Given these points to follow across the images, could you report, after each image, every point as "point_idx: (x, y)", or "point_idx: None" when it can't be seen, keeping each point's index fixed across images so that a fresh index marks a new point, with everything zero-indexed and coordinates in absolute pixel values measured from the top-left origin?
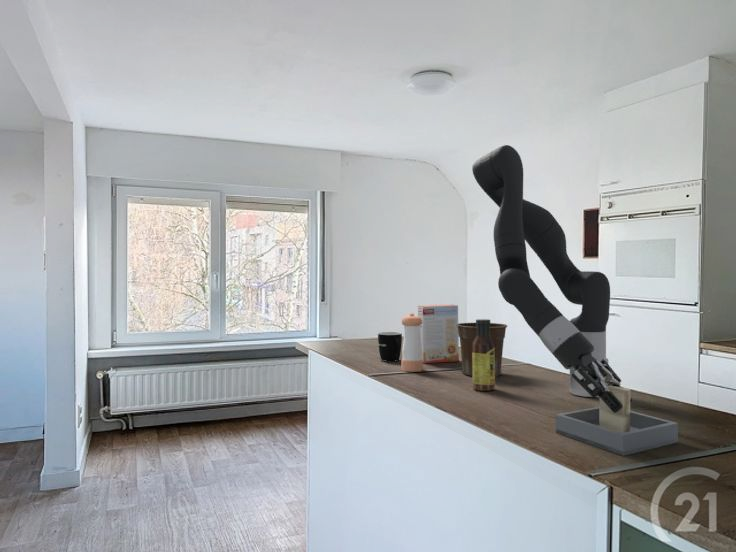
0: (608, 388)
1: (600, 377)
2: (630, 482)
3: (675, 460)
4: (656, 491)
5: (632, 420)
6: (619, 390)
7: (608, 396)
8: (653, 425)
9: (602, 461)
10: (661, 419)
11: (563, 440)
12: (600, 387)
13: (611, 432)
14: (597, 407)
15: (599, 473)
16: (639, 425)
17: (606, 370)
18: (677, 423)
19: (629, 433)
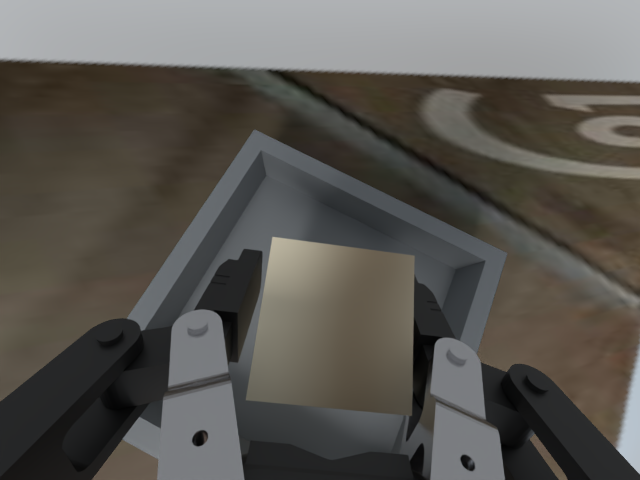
0: (348, 364)
1: (499, 439)
2: (616, 222)
3: (414, 159)
4: (619, 175)
5: (189, 282)
6: (360, 287)
7: (451, 333)
8: (233, 209)
9: (541, 301)
10: (232, 175)
11: None
12: (546, 385)
13: (492, 293)
14: (147, 443)
15: (620, 288)
16: (210, 258)
17: (216, 467)
18: (255, 131)
19: (474, 239)
